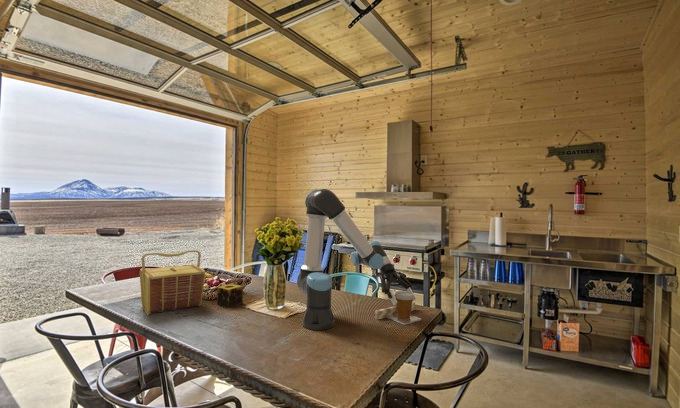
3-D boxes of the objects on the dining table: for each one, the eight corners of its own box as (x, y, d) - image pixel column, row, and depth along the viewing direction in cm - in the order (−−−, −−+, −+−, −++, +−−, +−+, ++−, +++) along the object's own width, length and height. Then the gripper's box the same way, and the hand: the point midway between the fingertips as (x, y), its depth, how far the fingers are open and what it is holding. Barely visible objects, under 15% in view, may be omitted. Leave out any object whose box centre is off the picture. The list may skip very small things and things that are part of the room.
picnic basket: (144, 319, 156) (145, 256, 156) (136, 306, 176) (137, 250, 176) (206, 308, 175) (208, 252, 175) (193, 297, 195) (194, 247, 195)
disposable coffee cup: (415, 320, 158) (415, 296, 158) (395, 320, 159) (395, 295, 159) (411, 314, 168) (411, 291, 168) (392, 313, 168) (393, 290, 168)
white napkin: (404, 325, 155) (404, 323, 155) (386, 317, 164) (386, 315, 164) (421, 320, 162) (421, 318, 162) (403, 313, 171) (403, 311, 171)
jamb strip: (377, 319, 161) (377, 311, 161) (374, 318, 163) (374, 310, 163) (415, 310, 178) (415, 302, 178) (412, 309, 179) (412, 301, 179)
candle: (243, 303, 184) (243, 286, 184) (228, 308, 176) (228, 289, 176) (231, 300, 190) (231, 283, 190) (216, 304, 181) (216, 286, 181)
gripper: (398, 268, 185) (417, 302, 172) (364, 272, 170) (383, 309, 158) (405, 261, 180) (426, 294, 168) (371, 264, 166) (391, 301, 154)
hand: (405, 301), depth 163 cm, fingers open, 13 cm apart
